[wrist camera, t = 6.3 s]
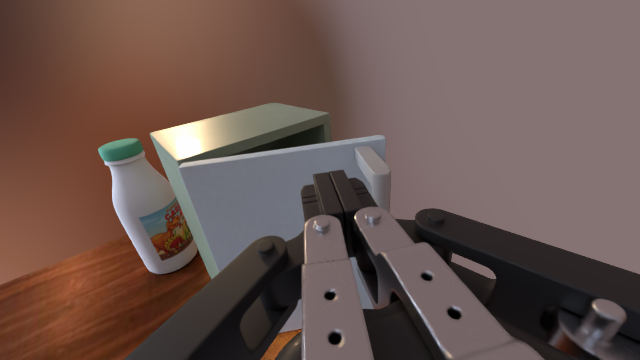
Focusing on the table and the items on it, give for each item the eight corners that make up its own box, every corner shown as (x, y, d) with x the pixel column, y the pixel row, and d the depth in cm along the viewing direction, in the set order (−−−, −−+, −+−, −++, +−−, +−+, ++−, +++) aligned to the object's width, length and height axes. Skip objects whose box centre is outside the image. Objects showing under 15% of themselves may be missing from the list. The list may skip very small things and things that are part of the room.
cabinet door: (399, 359, 26) (416, 164, 16) (239, 392, 25) (146, 205, 15) (379, 305, 32) (381, 134, 21) (246, 331, 30) (181, 162, 20)
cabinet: (341, 259, 39) (329, 112, 29) (243, 331, 30) (176, 160, 20) (295, 225, 47) (273, 102, 37) (208, 274, 39) (149, 133, 29)
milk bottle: (147, 284, 38) (73, 160, 29) (149, 253, 45) (88, 142, 35) (201, 261, 41) (151, 143, 32) (196, 235, 48) (152, 129, 38)
